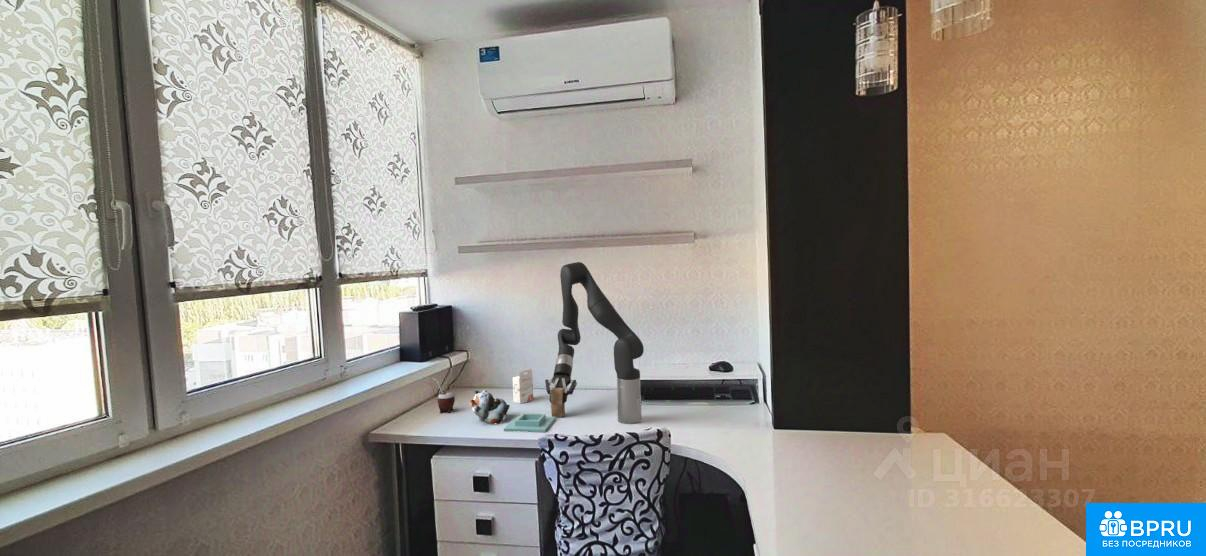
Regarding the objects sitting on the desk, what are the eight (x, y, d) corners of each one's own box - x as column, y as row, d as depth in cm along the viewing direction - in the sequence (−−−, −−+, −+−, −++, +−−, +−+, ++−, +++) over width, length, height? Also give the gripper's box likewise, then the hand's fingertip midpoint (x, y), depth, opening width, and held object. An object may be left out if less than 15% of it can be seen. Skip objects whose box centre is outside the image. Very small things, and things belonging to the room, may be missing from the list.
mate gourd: (457, 411, 210) (457, 377, 209) (441, 415, 204) (440, 380, 204) (449, 408, 215) (448, 374, 214) (432, 412, 209) (431, 377, 209)
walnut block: (564, 413, 201) (564, 387, 201) (562, 417, 197) (561, 390, 197) (554, 413, 202) (553, 387, 202) (551, 416, 198) (550, 390, 197)
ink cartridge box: (526, 398, 228) (525, 367, 228) (533, 399, 225) (532, 368, 225) (512, 402, 222) (511, 370, 221) (520, 404, 219) (519, 371, 218)
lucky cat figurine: (502, 425, 189) (484, 396, 186) (477, 435, 192) (459, 407, 189) (514, 404, 203) (497, 377, 200) (491, 413, 206) (474, 387, 203)
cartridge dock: (555, 419, 195) (555, 411, 195) (544, 432, 180) (544, 424, 180) (517, 418, 198) (517, 410, 198) (503, 431, 182) (503, 423, 182)
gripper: (546, 362, 209) (538, 397, 197) (578, 362, 206) (572, 398, 195) (549, 371, 214) (542, 406, 202) (581, 372, 212) (576, 407, 200)
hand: (557, 402), depth 199 cm, fingers closed on walnut block, 4 cm apart
